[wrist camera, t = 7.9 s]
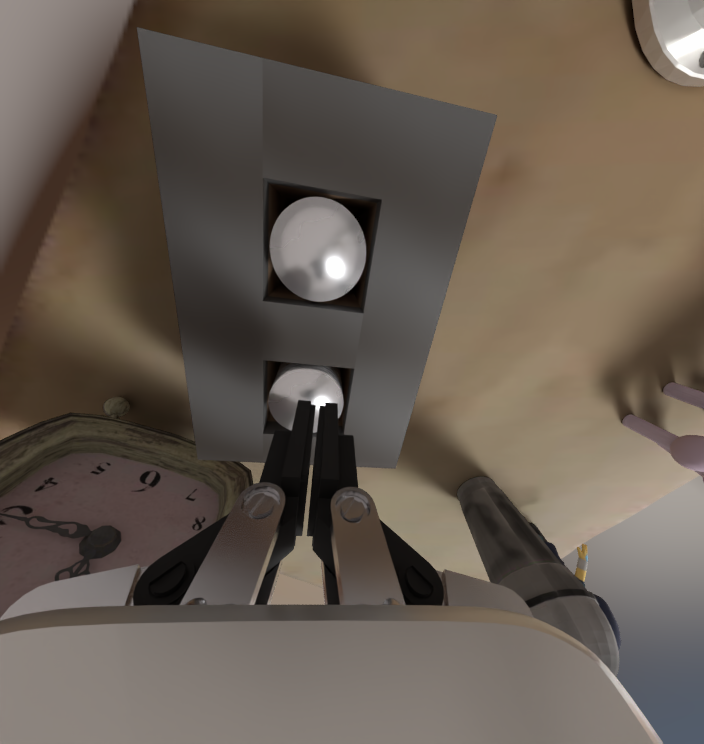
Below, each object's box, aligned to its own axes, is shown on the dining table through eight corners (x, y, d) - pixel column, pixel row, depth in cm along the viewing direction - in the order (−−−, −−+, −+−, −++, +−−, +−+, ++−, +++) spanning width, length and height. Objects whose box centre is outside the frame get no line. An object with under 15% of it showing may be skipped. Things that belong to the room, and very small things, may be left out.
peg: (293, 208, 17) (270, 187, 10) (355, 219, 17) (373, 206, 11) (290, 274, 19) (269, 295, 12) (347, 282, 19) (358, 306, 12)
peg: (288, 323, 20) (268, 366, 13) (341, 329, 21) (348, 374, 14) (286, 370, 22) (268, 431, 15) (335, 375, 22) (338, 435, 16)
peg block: (225, 126, 15) (137, 27, 8) (425, 167, 17) (497, 115, 10) (238, 390, 23) (197, 459, 16) (375, 401, 24) (395, 468, 17)
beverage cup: (433, 503, 32) (571, 849, 14) (469, 460, 29) (700, 821, 11) (481, 516, 33) (658, 836, 16) (519, 476, 31) (788, 809, 13)
